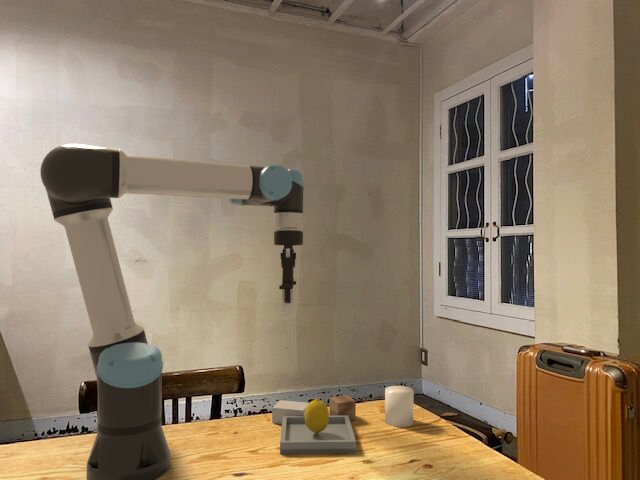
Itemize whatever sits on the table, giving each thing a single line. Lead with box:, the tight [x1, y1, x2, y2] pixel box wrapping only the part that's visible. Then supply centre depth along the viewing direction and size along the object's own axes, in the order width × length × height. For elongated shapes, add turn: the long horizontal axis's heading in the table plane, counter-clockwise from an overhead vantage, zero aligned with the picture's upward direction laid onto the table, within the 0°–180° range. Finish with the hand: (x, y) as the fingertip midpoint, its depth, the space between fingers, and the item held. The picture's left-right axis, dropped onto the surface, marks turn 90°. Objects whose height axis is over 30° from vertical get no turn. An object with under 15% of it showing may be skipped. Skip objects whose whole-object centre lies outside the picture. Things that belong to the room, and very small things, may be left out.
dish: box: [279, 415, 357, 455], centre depth 108 cm, size 16×16×2 cm
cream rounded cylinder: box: [384, 385, 415, 428], centre depth 119 cm, size 7×7×8 cm
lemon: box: [305, 398, 329, 434], centre depth 109 cm, size 6×6×8 cm
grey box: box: [271, 399, 310, 425], centre depth 120 cm, size 8×6×4 cm
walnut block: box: [328, 394, 357, 422], centre depth 122 cm, size 5×5×5 cm
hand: (288, 312), depth 123 cm, fingers open, 13 cm apart
